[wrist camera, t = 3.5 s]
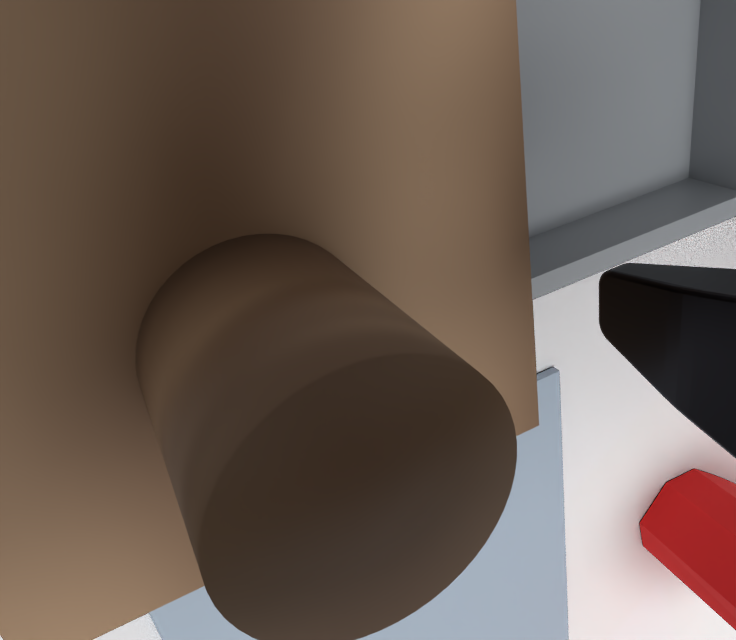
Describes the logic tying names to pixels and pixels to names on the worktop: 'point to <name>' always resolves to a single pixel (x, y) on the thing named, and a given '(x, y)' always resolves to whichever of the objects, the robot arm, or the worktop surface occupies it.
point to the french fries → (697, 537)
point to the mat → (483, 575)
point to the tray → (624, 128)
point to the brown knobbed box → (257, 308)
